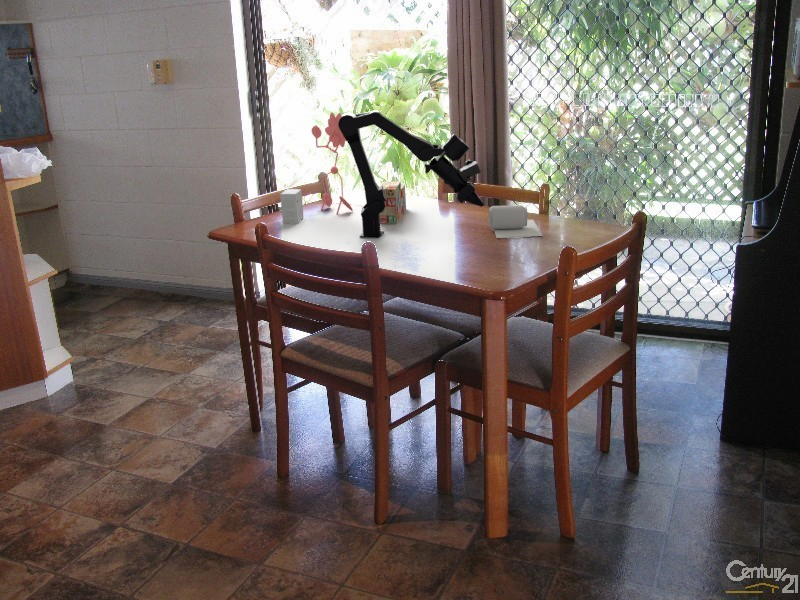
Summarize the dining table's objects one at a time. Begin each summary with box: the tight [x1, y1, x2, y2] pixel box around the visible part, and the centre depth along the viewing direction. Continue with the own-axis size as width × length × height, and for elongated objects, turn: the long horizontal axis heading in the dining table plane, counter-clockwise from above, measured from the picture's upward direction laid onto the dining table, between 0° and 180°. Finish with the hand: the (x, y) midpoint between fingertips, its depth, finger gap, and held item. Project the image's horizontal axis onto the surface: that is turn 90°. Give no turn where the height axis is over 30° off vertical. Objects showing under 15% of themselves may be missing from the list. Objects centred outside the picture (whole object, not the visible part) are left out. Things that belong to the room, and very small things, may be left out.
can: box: [488, 204, 528, 231], centre depth 257 cm, size 8×8×12 cm
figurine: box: [311, 112, 364, 217], centre depth 292 cm, size 15×26×35 cm, turn 43°
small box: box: [279, 188, 304, 224], centre depth 282 cm, size 8×6×10 cm
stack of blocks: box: [379, 180, 407, 225], centre depth 281 cm, size 21×6×12 cm, turn 171°
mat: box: [493, 219, 543, 239], centre depth 259 cm, size 14×20×1 cm
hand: (482, 205), depth 256 cm, fingers closed
